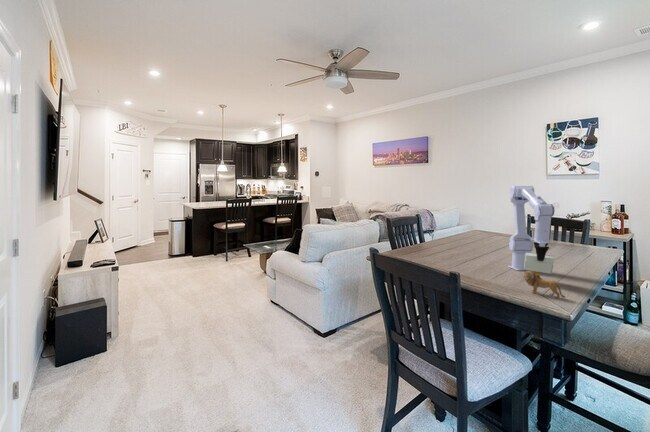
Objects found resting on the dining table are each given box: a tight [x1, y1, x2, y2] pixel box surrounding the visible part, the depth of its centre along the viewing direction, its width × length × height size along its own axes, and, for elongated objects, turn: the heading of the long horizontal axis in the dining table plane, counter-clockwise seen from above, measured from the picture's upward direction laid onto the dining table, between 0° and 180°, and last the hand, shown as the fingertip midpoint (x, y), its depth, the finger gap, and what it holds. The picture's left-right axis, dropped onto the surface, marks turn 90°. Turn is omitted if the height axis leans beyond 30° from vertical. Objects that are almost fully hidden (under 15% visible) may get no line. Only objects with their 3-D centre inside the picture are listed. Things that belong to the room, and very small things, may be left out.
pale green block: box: [524, 252, 554, 274], centre depth 145 cm, size 10×8×7 cm
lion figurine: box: [522, 270, 566, 300], centre depth 128 cm, size 15×5×9 cm, turn 52°
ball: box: [530, 271, 541, 278], centre depth 146 cm, size 5×5×5 cm
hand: (539, 259), depth 145 cm, fingers closed on pale green block, 6 cm apart
